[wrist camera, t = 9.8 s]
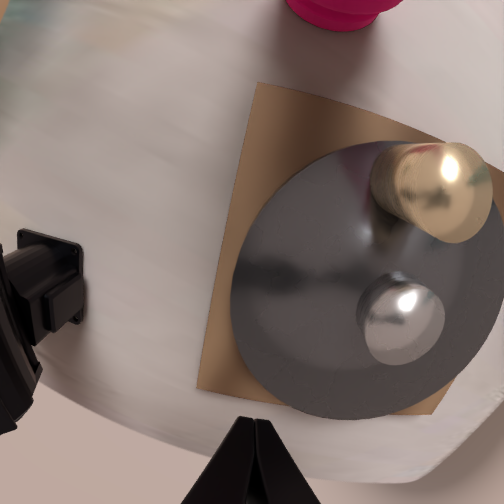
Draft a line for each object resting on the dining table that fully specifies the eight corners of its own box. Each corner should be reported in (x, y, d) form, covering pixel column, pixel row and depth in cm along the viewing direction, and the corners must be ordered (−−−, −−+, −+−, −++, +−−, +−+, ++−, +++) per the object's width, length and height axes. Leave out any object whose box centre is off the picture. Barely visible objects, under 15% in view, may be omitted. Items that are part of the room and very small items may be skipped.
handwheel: (462, 385, 20) (497, 439, 13) (243, 410, 21) (235, 486, 14) (505, 155, 14) (578, 165, 8) (222, 142, 16) (191, 132, 9)
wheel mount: (200, 375, 22) (196, 387, 21) (258, 88, 16) (257, 81, 15) (425, 403, 22) (431, 414, 21) (517, 185, 16) (529, 188, 15)
